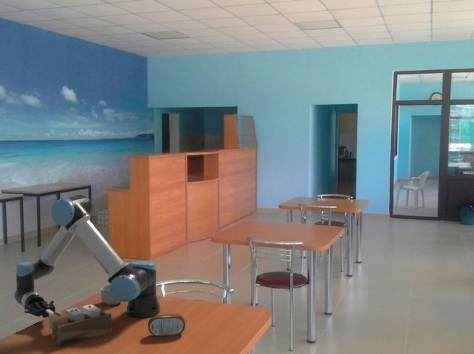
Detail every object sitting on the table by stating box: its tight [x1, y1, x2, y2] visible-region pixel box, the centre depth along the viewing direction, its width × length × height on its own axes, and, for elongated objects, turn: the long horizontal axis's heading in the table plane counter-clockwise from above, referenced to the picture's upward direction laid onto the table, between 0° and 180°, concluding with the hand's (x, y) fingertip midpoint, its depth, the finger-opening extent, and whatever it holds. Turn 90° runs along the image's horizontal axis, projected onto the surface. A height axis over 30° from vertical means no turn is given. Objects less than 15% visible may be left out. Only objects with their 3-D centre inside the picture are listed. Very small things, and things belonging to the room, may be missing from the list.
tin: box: [147, 313, 186, 337], centre depth 210 cm, size 15×3×8 cm, turn 100°
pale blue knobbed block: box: [65, 307, 84, 322], centre depth 213 cm, size 8×4×6 cm, turn 41°
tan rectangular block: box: [48, 311, 68, 331], centre depth 209 cm, size 8×4×6 cm, turn 41°
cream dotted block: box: [81, 303, 101, 318], centre depth 218 cm, size 8×4×6 cm, turn 41°
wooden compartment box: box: [51, 309, 113, 347], centre depth 208 cm, size 10×21×8 cm, turn 131°
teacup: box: [99, 284, 122, 306], centre depth 250 cm, size 14×11×8 cm
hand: (53, 317), depth 212 cm, fingers closed
